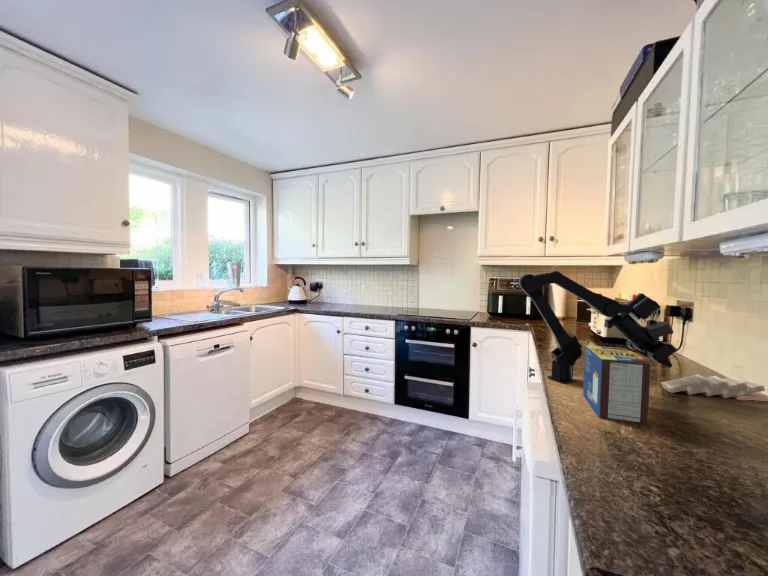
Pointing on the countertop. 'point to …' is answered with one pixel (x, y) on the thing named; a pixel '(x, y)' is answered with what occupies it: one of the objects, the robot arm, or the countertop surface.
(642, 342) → the robot arm
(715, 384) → the domino
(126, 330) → the countertop surface
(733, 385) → the domino
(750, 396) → the domino
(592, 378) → the protein box
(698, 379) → the domino
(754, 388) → the domino
